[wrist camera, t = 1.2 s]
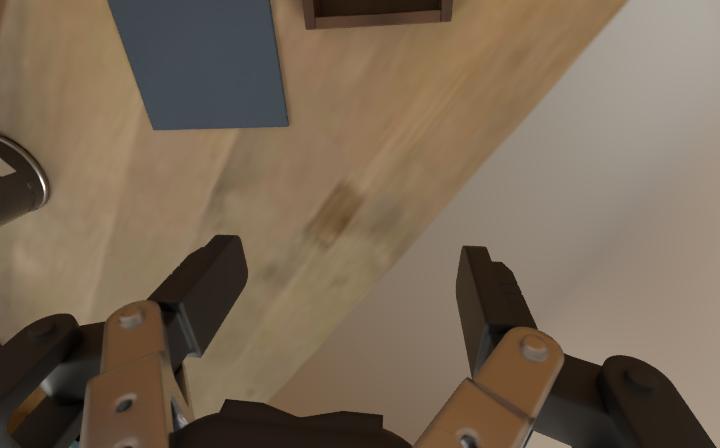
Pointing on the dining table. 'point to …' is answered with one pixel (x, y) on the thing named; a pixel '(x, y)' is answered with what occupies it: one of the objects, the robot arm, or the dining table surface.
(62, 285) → the dining table surface
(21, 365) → the robot arm
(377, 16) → the tray
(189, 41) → the placemat
